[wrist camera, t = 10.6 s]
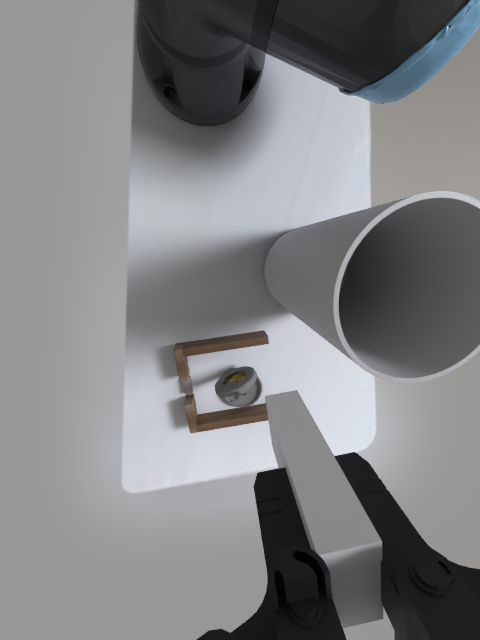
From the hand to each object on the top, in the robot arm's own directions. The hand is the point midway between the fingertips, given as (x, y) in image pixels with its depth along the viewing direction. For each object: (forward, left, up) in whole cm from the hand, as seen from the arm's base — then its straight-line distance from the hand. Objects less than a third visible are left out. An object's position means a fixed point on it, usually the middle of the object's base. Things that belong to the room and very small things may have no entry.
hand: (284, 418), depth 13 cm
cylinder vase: (-3, +11, -31) cm, 33 cm away
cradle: (+13, -3, -30) cm, 33 cm away
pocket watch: (+14, -1, -31) cm, 33 cm away
